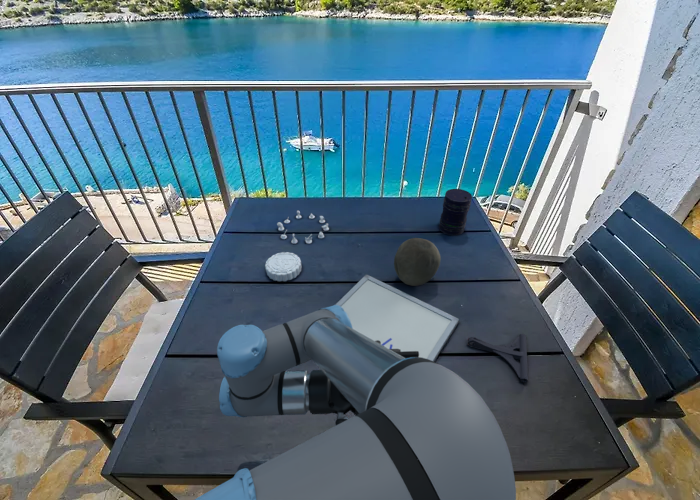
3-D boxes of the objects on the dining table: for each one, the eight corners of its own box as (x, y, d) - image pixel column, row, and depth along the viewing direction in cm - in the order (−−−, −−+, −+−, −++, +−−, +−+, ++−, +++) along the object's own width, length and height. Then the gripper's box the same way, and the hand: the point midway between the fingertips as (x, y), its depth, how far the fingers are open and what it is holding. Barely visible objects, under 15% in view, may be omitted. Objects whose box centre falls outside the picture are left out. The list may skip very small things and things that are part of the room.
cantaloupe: (431, 299, 108) (439, 262, 99) (387, 288, 112) (391, 251, 102) (438, 270, 118) (446, 235, 109) (398, 261, 122) (402, 226, 113)
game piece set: (269, 239, 132) (268, 230, 130) (291, 212, 147) (290, 204, 145) (317, 248, 128) (316, 240, 126) (335, 219, 143) (334, 211, 141)
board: (407, 404, 82) (408, 400, 80) (305, 338, 96) (304, 334, 95) (457, 323, 100) (459, 318, 99) (366, 278, 115) (366, 274, 114)
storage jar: (434, 229, 138) (440, 195, 128) (446, 218, 143) (452, 186, 134) (457, 238, 133) (465, 204, 123) (468, 227, 138) (477, 194, 129)
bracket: (469, 324, 100) (471, 317, 99) (525, 338, 96) (528, 332, 95) (464, 365, 90) (466, 359, 88) (526, 383, 86) (530, 377, 84)
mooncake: (261, 280, 115) (259, 272, 112) (272, 257, 124) (270, 249, 122) (297, 283, 113) (296, 275, 111) (305, 259, 123) (304, 251, 121)
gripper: (314, 346, 76) (411, 344, 76) (306, 476, 56) (436, 472, 57) (311, 324, 71) (415, 322, 72) (302, 457, 52) (444, 453, 52)
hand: (424, 388), depth 64 cm, fingers open, 13 cm apart
